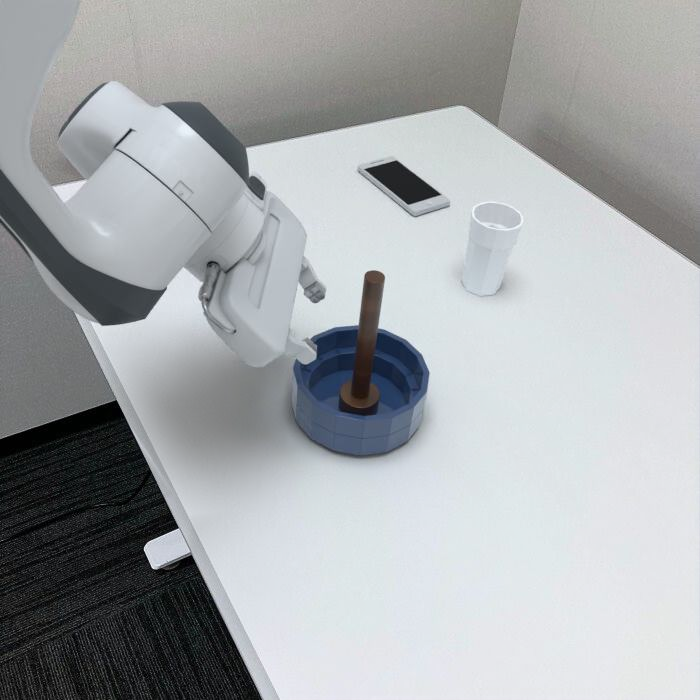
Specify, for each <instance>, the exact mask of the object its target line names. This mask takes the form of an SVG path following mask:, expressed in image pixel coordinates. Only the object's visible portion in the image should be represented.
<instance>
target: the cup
mask: <svg viewBox="0 0 700 700" xmlns="http://www.w3.org/2000/svg"><path fill="white" fill-rule="evenodd" d="M524 221H525V220H524V216H523V213H521V212H520V211H519V210H518V209H517V208H515V207H514V206H512V205H510V204H507V203H503V202H500V201H484V202H479V203H478V204H475V205H473V206H472V209H471V213H470V220H469V224H468V230H467V231H468V237H467V238H468V239H467V244H466V252H465V259H464V263H463V264H464V265H463V270H462V277H461V283H462V285H463V287H464V289H465V290H466V292H469V293H472V294H474V295H476V296H478V297H485V296H487V297H488V296H494V295H496V293H497V292H498V291H499V289H500V288H501V284H502V281H503V279H504V275H505V274H506V273H505V272H506V270H507V267H508V263H509V261H510V258H511V255H512V252H513V249H514V246H515V245H516V244H517V241H518V238H519V236H520V233H521V230H522V227H523V223H524Z"/></svg>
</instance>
